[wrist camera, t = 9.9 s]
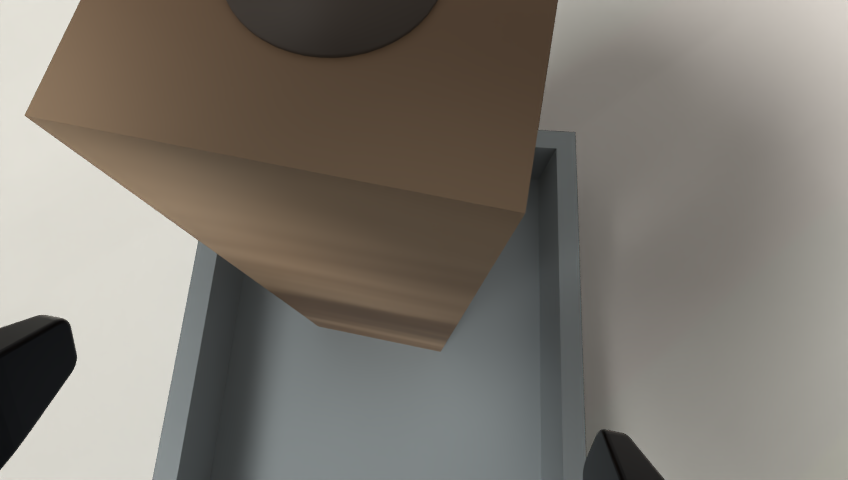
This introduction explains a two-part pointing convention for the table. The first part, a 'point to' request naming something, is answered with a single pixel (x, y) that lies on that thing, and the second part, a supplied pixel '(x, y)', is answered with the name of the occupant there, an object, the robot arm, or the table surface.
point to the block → (318, 140)
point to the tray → (392, 372)
